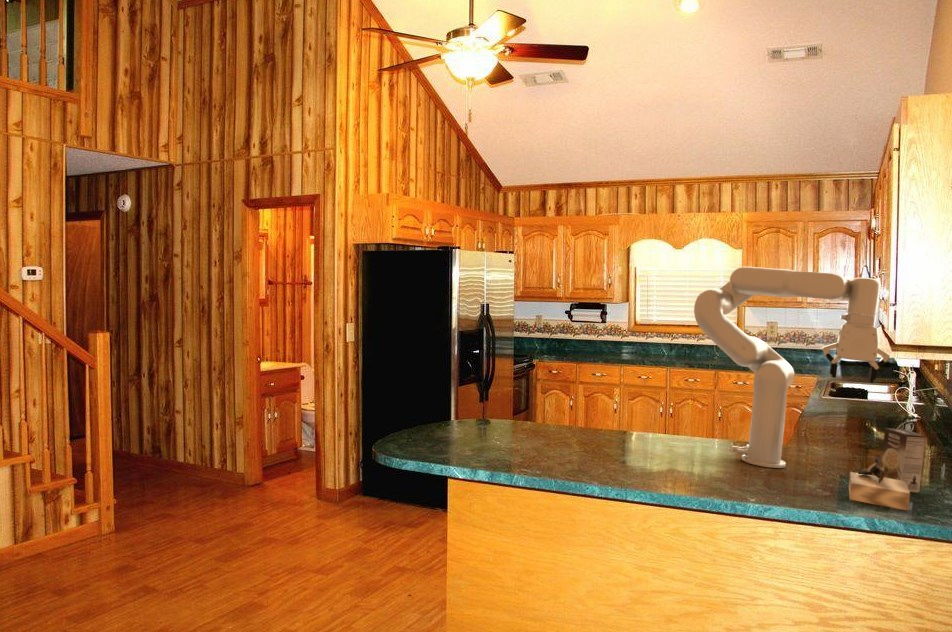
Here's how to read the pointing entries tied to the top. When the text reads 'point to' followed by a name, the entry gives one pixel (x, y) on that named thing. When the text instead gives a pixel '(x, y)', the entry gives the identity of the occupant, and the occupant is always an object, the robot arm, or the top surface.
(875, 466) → the eagle figurine
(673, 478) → the top surface
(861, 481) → the maple block
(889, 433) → the coffee box
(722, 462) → the top surface
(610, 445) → the top surface
